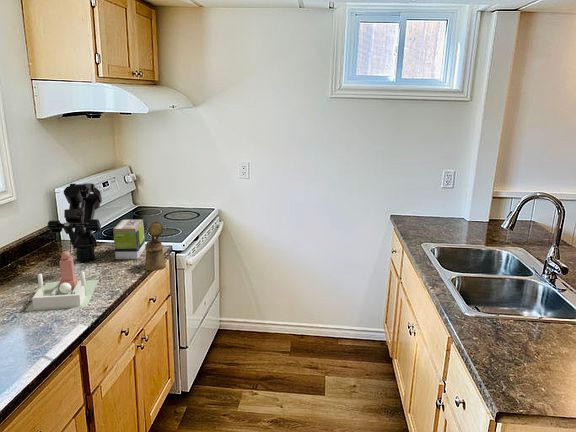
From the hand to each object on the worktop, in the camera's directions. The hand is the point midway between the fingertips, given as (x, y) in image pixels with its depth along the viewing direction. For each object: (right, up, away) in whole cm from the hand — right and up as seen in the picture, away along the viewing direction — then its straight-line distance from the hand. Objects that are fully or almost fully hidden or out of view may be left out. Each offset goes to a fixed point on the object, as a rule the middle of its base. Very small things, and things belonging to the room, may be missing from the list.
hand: (72, 244), depth 171 cm
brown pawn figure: (+27, -10, +19) cm, 34 cm away
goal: (+5, -19, -18) cm, 27 cm away
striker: (+2, -16, -7) cm, 17 cm away
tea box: (+12, -6, +31) cm, 34 cm away
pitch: (+3, -17, -12) cm, 22 cm away
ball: (+3, -15, -12) cm, 20 cm away
